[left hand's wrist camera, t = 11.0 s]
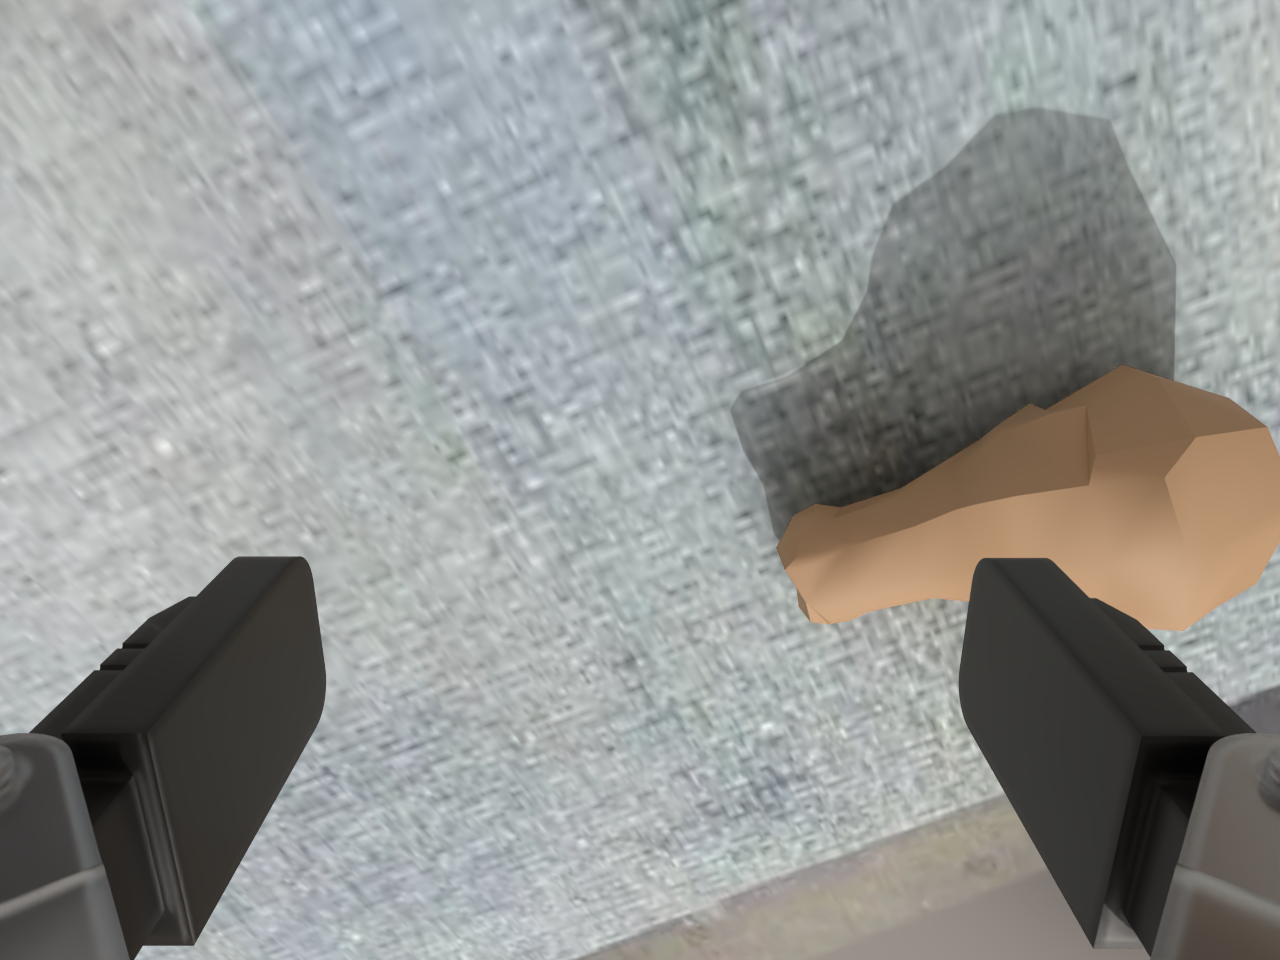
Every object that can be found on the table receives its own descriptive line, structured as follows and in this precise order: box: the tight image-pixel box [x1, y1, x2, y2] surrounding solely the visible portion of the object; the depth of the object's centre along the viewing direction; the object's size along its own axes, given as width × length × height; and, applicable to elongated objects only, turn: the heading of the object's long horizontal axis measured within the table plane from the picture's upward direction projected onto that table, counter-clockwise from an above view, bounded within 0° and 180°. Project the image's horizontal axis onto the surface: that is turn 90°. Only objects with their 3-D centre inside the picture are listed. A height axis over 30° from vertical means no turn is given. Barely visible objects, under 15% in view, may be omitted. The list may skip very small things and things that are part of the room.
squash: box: [776, 365, 1280, 631], centre depth 38 cm, size 11×20×9 cm, turn 111°
